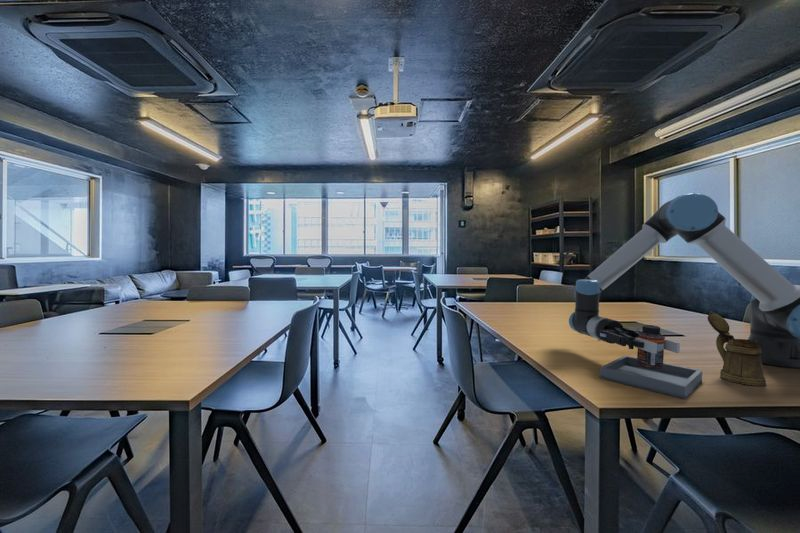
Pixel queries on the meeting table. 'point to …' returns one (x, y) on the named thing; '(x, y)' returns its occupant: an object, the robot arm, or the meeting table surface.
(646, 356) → the supplement bottle
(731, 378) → the wooden mug
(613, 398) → the meeting table surface
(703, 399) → the meeting table surface
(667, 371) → the grey tray
